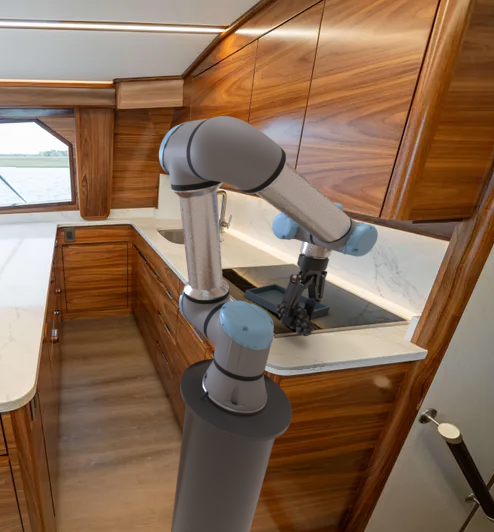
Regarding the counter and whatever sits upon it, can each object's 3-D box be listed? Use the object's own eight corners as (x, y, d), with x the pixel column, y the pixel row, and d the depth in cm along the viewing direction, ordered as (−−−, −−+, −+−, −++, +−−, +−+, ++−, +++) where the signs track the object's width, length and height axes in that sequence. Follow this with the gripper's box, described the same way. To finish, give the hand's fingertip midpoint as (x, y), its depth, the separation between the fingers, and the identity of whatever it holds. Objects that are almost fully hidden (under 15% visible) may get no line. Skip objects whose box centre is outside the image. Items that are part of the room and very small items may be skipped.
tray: (296, 324, 104) (298, 316, 103) (244, 296, 124) (245, 290, 123) (327, 314, 111) (329, 306, 110) (273, 289, 131) (275, 283, 129)
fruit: (323, 315, 86) (295, 292, 100) (293, 322, 87) (269, 298, 101) (324, 339, 89) (297, 313, 103) (296, 345, 90) (272, 319, 104)
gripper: (302, 263, 80) (284, 334, 88) (350, 254, 89) (329, 320, 97) (277, 255, 87) (262, 322, 95) (324, 248, 95) (307, 310, 103)
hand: (296, 321), depth 96 cm, fingers closed on fruit, 9 cm apart
